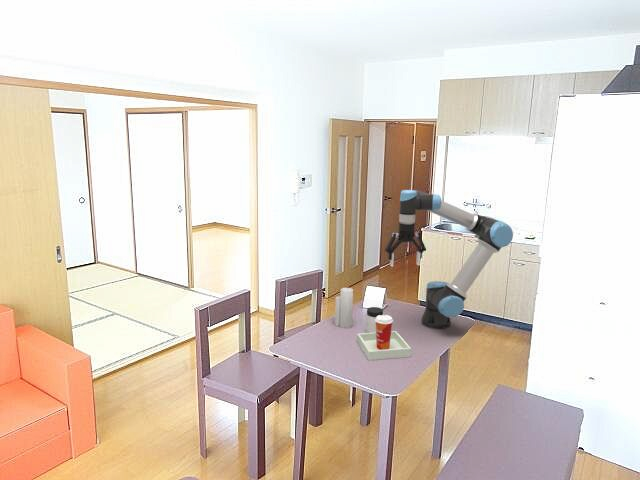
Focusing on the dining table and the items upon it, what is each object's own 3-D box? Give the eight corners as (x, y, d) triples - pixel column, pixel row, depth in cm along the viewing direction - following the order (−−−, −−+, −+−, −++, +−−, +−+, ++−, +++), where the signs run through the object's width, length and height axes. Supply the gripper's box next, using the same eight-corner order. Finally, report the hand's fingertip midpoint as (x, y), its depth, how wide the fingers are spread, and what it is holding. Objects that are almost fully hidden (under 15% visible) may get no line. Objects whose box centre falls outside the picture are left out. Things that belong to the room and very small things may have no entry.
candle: (354, 325, 251) (355, 289, 246) (346, 329, 245) (347, 292, 241) (338, 319, 258) (339, 284, 254) (329, 323, 253) (330, 287, 248)
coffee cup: (372, 343, 227) (373, 314, 224) (389, 343, 228) (390, 314, 224) (376, 351, 219) (377, 321, 216) (393, 351, 220) (395, 320, 216)
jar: (363, 329, 245) (363, 307, 243) (376, 327, 248) (377, 305, 246) (371, 336, 237) (372, 313, 235) (385, 333, 240) (386, 311, 238)
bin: (395, 338, 235) (396, 330, 234) (410, 356, 216) (411, 348, 215) (356, 341, 231) (357, 333, 230) (368, 360, 212) (369, 351, 211)
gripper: (428, 220, 232) (425, 262, 236) (379, 221, 227) (377, 264, 231) (434, 223, 224) (432, 266, 229) (384, 224, 220) (382, 268, 224)
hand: (404, 265), depth 230 cm, fingers open, 13 cm apart
